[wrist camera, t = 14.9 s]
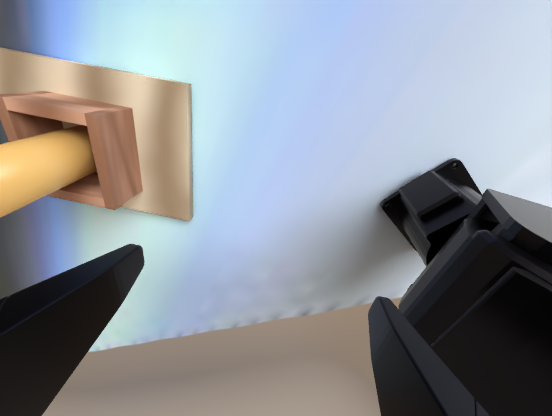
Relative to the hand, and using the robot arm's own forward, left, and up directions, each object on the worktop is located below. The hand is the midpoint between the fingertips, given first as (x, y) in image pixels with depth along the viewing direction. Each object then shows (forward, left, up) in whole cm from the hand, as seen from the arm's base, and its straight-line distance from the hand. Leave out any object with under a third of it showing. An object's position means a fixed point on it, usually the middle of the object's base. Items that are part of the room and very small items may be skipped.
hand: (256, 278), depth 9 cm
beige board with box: (+12, +11, -13) cm, 21 cm away
